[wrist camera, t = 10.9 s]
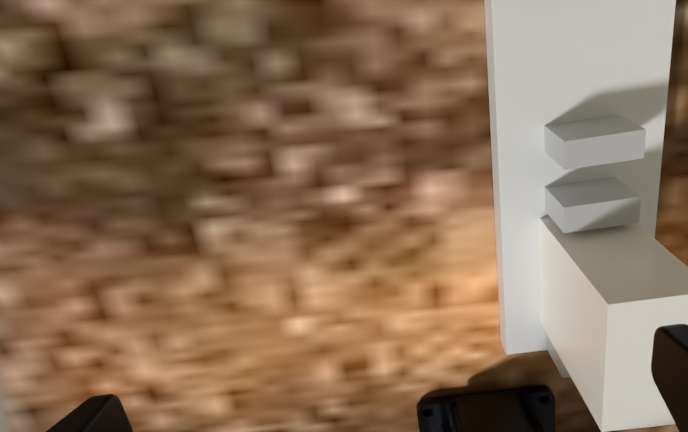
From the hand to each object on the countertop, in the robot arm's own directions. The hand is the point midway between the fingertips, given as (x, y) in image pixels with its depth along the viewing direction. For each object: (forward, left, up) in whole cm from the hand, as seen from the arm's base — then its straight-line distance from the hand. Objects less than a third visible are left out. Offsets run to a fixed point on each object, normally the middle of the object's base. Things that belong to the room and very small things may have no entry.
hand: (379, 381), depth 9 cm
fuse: (-6, -8, -12) cm, 16 cm away
